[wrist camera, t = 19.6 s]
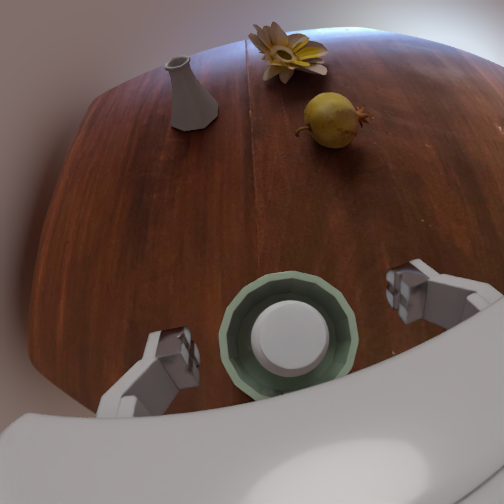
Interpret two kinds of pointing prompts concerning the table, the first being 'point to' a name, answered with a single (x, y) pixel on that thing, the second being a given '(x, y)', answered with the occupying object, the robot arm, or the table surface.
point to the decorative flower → (287, 52)
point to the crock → (261, 297)
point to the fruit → (332, 120)
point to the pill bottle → (290, 338)
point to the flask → (189, 97)
